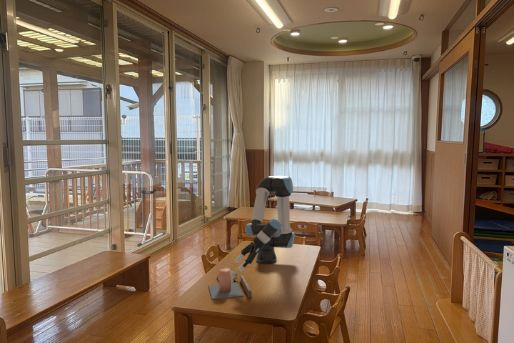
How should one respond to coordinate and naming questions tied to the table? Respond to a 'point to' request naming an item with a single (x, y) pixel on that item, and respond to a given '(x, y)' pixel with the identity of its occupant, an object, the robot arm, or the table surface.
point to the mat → (222, 295)
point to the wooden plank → (246, 286)
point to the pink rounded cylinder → (224, 280)
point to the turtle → (233, 275)
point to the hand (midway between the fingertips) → (237, 266)
